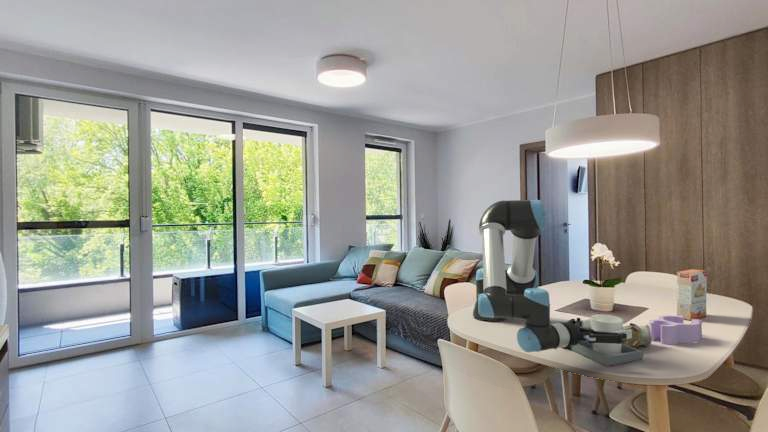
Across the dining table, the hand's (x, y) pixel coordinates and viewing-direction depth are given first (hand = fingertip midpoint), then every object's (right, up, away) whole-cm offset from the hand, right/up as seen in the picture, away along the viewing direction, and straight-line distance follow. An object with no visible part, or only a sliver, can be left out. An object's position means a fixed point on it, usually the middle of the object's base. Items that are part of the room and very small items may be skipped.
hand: (613, 327), depth 132 cm
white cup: (-2, -9, 0) cm, 9 cm away
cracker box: (+60, -7, +41) cm, 72 cm away
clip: (+32, -8, +14) cm, 35 cm away
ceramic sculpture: (+11, -9, +7) cm, 16 cm away
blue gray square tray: (-3, -9, -1) cm, 10 cm away
